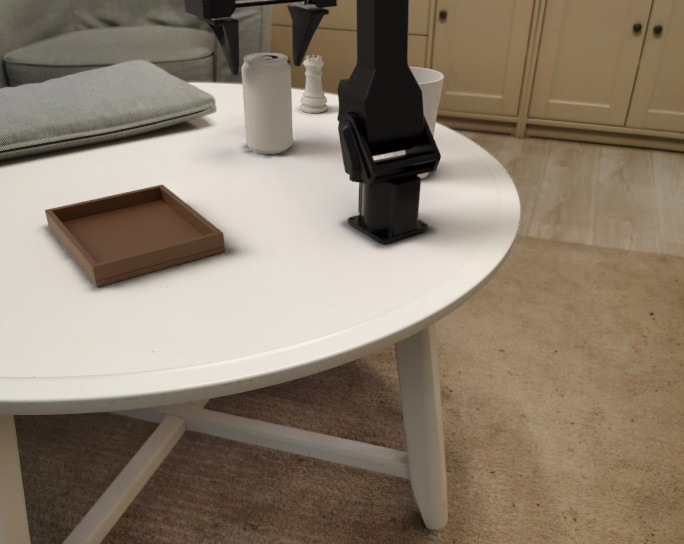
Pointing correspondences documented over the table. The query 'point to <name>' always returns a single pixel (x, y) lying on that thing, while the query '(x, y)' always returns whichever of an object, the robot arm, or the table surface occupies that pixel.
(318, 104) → the rook chess piece
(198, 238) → the tray
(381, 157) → the cup
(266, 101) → the beverage can
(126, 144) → the table surface
